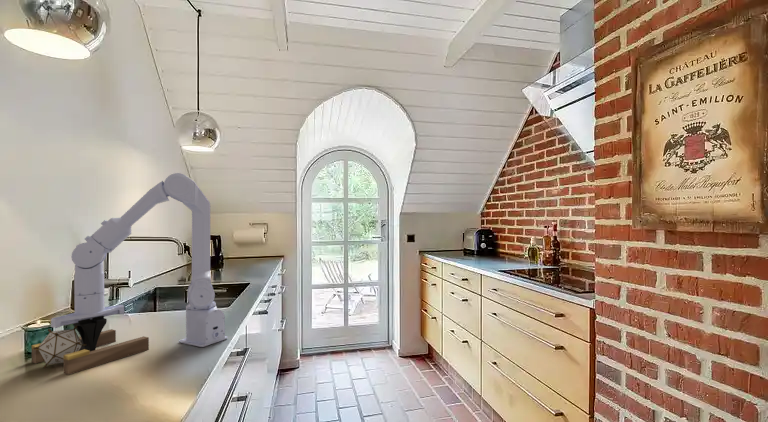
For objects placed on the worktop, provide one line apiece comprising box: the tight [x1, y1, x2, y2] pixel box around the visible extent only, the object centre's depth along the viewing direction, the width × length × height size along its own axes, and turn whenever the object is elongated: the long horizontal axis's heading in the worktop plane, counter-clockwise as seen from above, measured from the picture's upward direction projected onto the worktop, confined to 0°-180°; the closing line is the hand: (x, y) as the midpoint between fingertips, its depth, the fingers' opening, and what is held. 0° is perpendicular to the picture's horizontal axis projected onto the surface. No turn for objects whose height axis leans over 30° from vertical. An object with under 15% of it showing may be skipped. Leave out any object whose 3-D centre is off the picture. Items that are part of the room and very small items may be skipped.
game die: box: [31, 326, 86, 369], centre depth 89 cm, size 9×8×10 cm
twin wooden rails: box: [31, 329, 150, 375], centre depth 94 cm, size 16×17×4 cm
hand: (90, 350), depth 94 cm, fingers closed
